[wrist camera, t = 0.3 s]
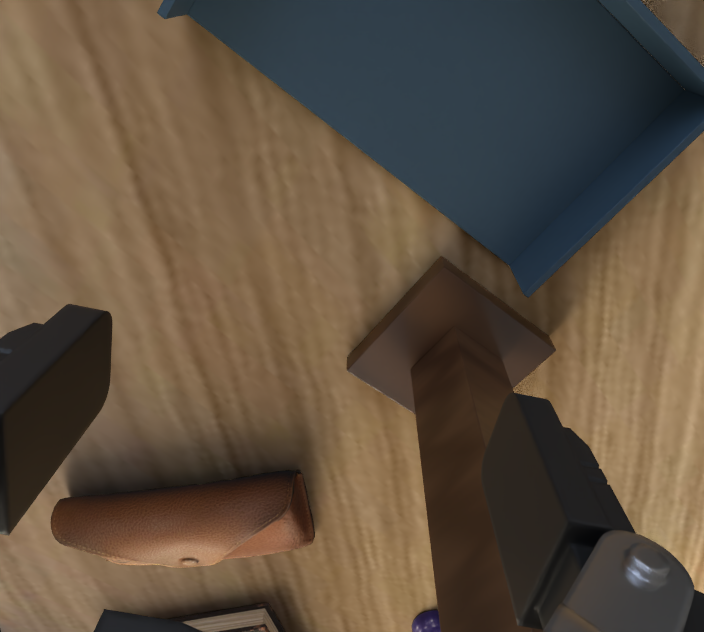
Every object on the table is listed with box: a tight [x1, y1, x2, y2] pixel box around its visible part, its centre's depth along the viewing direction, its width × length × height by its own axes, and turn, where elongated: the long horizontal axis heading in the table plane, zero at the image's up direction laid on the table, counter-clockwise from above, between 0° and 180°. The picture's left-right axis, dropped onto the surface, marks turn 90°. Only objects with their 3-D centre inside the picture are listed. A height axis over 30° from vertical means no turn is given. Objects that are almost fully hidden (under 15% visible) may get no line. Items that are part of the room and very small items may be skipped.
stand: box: [347, 256, 556, 632], centre depth 22 cm, size 10×11×34 cm
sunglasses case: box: [51, 470, 315, 568], centre depth 43 cm, size 18×7×7 cm
